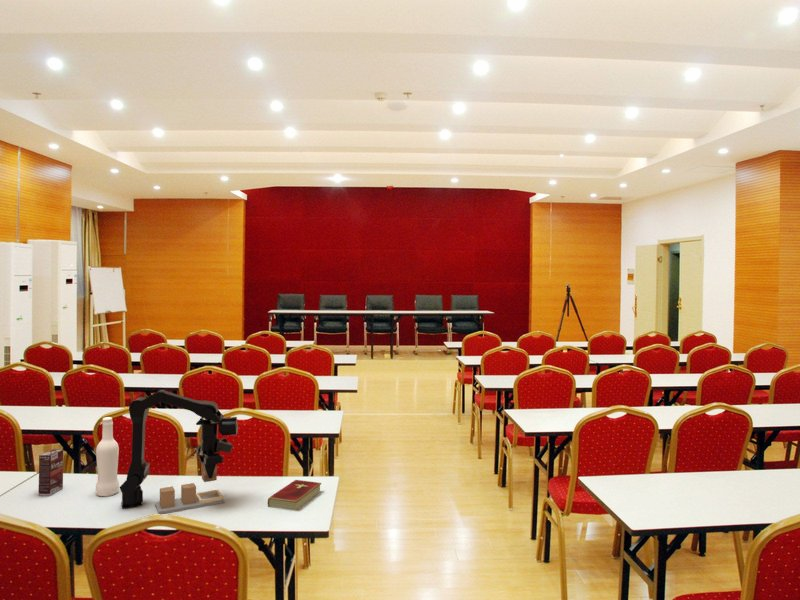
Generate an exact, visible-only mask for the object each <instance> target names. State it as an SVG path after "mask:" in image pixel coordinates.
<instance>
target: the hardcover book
mask: <svg viewBox="0 0 800 600" xmlns="http://www.w3.org/2000/svg"><path fill="white" fill-rule="evenodd" d="M321 485H322V482H317V481H308V480H300V479H295V480H293V481H291V482H290V483H289V484H287V485H286V486H284V487H282V488H281V489H279V490H278V491H277V492H274V493H273V494H272V495H271V496H269V497H268V498H267V507H268V508H275V509H276V508H277V509H283V510H290V511H297V510H299V509H300V508H301V507H303V506H304V505H305V504H307V501H308V502H309V501H310V500H312V499H313V498H314V497H315V496H317V493H318V492H319V493H320V492H321ZM319 493H318V494H319ZM314 495H315V496H314ZM313 496H314V497H313ZM312 497H313V498H312Z"/></svg>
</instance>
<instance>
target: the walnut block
mask: <svg viewBox="0 0 800 600" xmlns="http://www.w3.org/2000/svg"><path fill="white" fill-rule="evenodd" d="M217 466H218V464H216V466H215V469H214V473H213V476H212V478H209V477H208V474H207V472H206V469H205V466H204V464H203V463H201V480H202V482H204V483H207V482H209V483H210V482H214V481H218V479H217V478H218V477H217V476H218V473H217V472H218V467H217Z"/></svg>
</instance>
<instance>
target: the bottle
mask: <svg viewBox="0 0 800 600" xmlns="http://www.w3.org/2000/svg"><path fill="white" fill-rule="evenodd" d="M101 421H102V424H101V425H102V434H101V435H102V436H101V437H102V438H101V440H100V441H99V443H98V444H97V445H96V449H95V451H96V453H95V455H96V456H95V457H96V470H97V482H96V485H95V492H96V496H98V497H102V496H105V497H110V496H114V495H116V494H117V493H118V492H119V490H120V482H119V480H118V469H119V468H118V467H119V453H120V452H119V451H120V447H119V444H118V442H117V441H116V440H115V438H114V435H113V434H114V430H113V429H114V427H113V426H114V422H113V417H111V416H107V417H106V416H105V417H103V418H102V420H101Z"/></svg>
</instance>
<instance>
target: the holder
mask: <svg viewBox="0 0 800 600" xmlns="http://www.w3.org/2000/svg"><path fill="white" fill-rule="evenodd" d="M180 488H181V489H180V496H181V497H180V498H179V497H178V498H175V497H176V495H175V494H176V490H175V488H174V486H172V485H171V486H166V487H160V488H159V501H157V502H154V506H155V509H156V511H157V514H158V513H159V514H160V515H164V514H170V513H176V512H182V511H187V510H192V509H198V508H203V507H204V508H205V507H209V506H213V505H219V504H220V505H221V504H225V499H224V495H223V494H222V493H221V491H220V490H219V489H211V490H207V491H201V492H197V485H196V484H195V482H192V483H191V482H190V483H185V484H181V487H180ZM159 514H158V515H159Z"/></svg>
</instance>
